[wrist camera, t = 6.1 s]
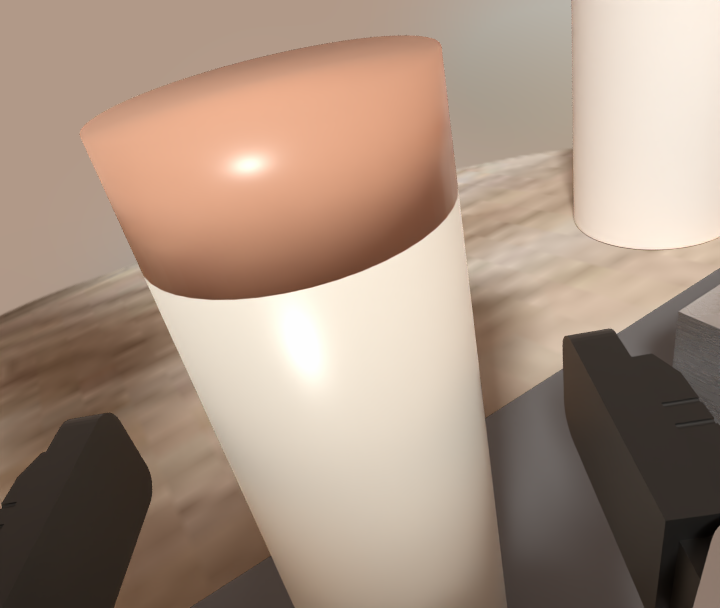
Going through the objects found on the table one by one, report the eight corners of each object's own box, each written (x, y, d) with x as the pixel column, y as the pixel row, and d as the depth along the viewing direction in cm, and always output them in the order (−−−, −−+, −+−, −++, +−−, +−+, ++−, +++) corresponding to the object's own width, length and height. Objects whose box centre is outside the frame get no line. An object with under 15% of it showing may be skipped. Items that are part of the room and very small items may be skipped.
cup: (728, 258, 28) (792, -164, 19) (554, 241, 32) (543, -106, 24) (748, 185, 33) (806, -172, 24) (596, 179, 37) (599, -123, 29)
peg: (289, 611, 16) (58, 115, 9) (429, 514, 18) (329, 34, 11) (387, 791, 13) (120, 178, 5) (553, 644, 14) (524, 36, 7)
